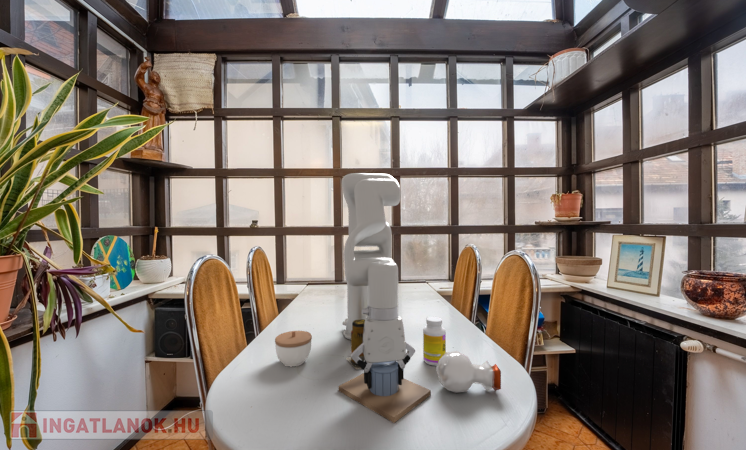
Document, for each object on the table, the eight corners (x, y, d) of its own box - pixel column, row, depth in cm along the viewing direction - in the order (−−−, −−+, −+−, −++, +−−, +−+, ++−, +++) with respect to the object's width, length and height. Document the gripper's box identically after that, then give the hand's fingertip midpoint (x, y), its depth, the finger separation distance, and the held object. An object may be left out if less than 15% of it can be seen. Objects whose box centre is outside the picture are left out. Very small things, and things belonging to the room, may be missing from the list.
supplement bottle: (446, 367, 88) (445, 323, 88) (422, 365, 89) (422, 321, 89) (445, 357, 95) (445, 316, 94) (423, 355, 96) (423, 315, 96)
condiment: (366, 354, 97) (366, 316, 97) (378, 365, 90) (378, 324, 90) (345, 358, 94) (345, 320, 94) (356, 370, 87) (355, 328, 87)
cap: (372, 397, 71) (372, 372, 71) (367, 382, 78) (367, 358, 78) (401, 394, 72) (401, 369, 72) (394, 379, 79) (394, 356, 79)
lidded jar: (319, 361, 92) (318, 330, 92) (287, 374, 85) (287, 341, 85) (299, 351, 100) (298, 323, 100) (268, 362, 92) (268, 331, 92)
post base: (338, 390, 76) (338, 368, 76) (376, 370, 87) (376, 350, 86) (394, 423, 64) (393, 396, 64) (430, 395, 74) (430, 371, 74)
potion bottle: (432, 391, 78) (492, 400, 77) (439, 386, 70) (506, 396, 69) (433, 353, 83) (488, 361, 82) (439, 344, 75) (501, 353, 74)
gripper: (349, 319, 70) (350, 396, 70) (422, 314, 73) (422, 388, 73) (346, 310, 77) (347, 380, 77) (412, 305, 80) (412, 373, 81)
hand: (383, 383), depth 75 cm, fingers closed on cap, 7 cm apart
